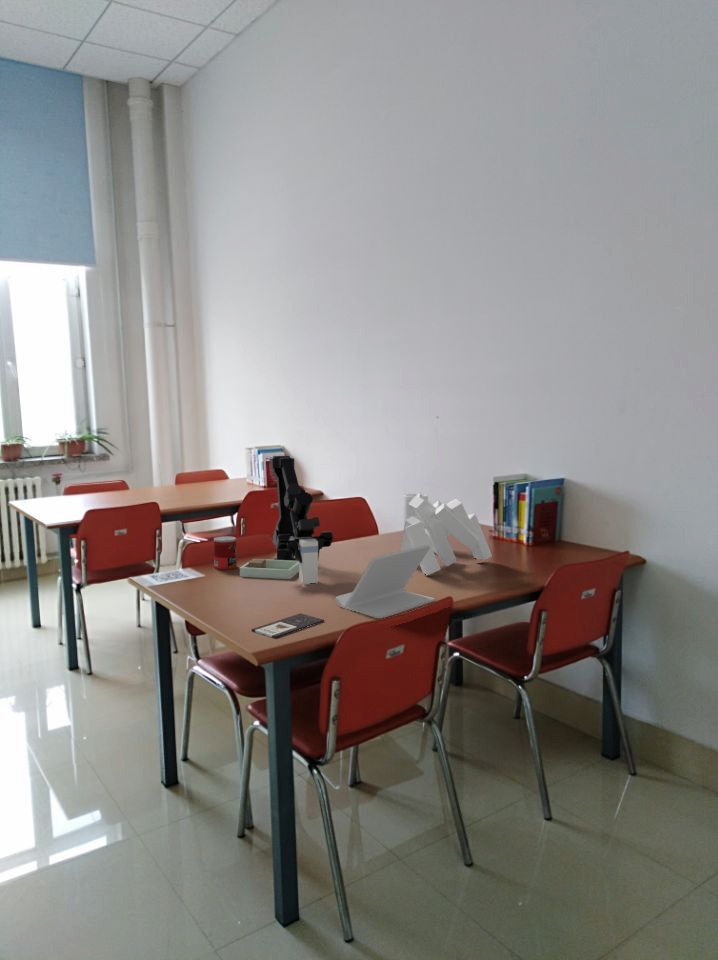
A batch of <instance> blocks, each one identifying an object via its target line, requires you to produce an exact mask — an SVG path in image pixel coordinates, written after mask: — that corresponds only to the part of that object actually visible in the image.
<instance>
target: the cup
mask: <svg viewBox="0 0 718 960" xmlns="http://www.w3.org/2000/svg"><path fill="white" fill-rule="evenodd" d="M418 494H419V493H408V494H407V493H406V494H404V495H403V505H402V506H403V509H402V510H403V522H404V523H405V520H406V519H408V518H410V517H415V518H416V519H418V520H420V518H419V517H418V516H417V514H416V513H415V512H414V511H413V509H412V508H411V507H410V506H409V503H410V502H411V500H412V499H413V498H414V497H415V496H416V495H418ZM421 494H422V495H423V496H424V497H425V498H426V499H427V500H428V501H429V496H428V494H425V493H421ZM420 521H421V520H420ZM421 522H422V521H421ZM423 527H424V528H425V529H427V527H426V526H425V525H424V523H423Z"/></svg>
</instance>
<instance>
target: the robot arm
mask: <svg viewBox="0 0 718 960" xmlns="http://www.w3.org/2000/svg"><path fill="white" fill-rule="evenodd" d="M269 468H270V469H271V474H272V475H273V477H274V478H275V479H276V485H277V486H276V489H277V502H278V503H277V504H278V505H277V506H278V515H279V516H278V520H277V522H276V523H275V528H274V532H273V535H272V544H273V545H275V549H276V558H273V560H289V561H299V562H300V563H302V558H301V555H300V551H299V539H313V538H314V539H315V540H317V541H318V559H319V557H320V552H321V551H320V550H322V549H323V548H329V547H331V546H332V542H333V539H334V533H333V532H332V531H320V533H319V536H318V535H316V536H313V535H314V534H315V529H316V528H319V527H320V526H321V522H320V518H319V516H313V518H309V515H308V514H309V513H310V509H311V507H312V504H313V496H312V495H311V494H310V493H308V492H307V491H306V489H304V488H303V487H301V486H300V484H299V480H298V477H297V472H296V469H295V468H296V467H295V458H294V457H291V456H290V455H273V456H272V458H270V459H269Z"/></svg>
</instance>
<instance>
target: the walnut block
mask: <svg viewBox="0 0 718 960" xmlns="http://www.w3.org/2000/svg"><path fill="white" fill-rule="evenodd" d="M252 559H253V560H252ZM252 559H251V560H249V561H250V562H249V561H248V562H249V568H266V559H267V558H265V559H264V558H252Z"/></svg>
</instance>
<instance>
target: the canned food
mask: <svg viewBox="0 0 718 960" xmlns="http://www.w3.org/2000/svg"><path fill="white" fill-rule="evenodd" d="M237 561H238V559H237V537H235V536H229V535H228V536H227V535H226V536H224V535H223V536H216V537H214V538H213V564H214V565H213V566H214V567H213V568H214V569H216V570H220V571H222V570H223V571H225V570H226V571H227V570H233V569H236V568H237V566H238V565H237Z"/></svg>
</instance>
